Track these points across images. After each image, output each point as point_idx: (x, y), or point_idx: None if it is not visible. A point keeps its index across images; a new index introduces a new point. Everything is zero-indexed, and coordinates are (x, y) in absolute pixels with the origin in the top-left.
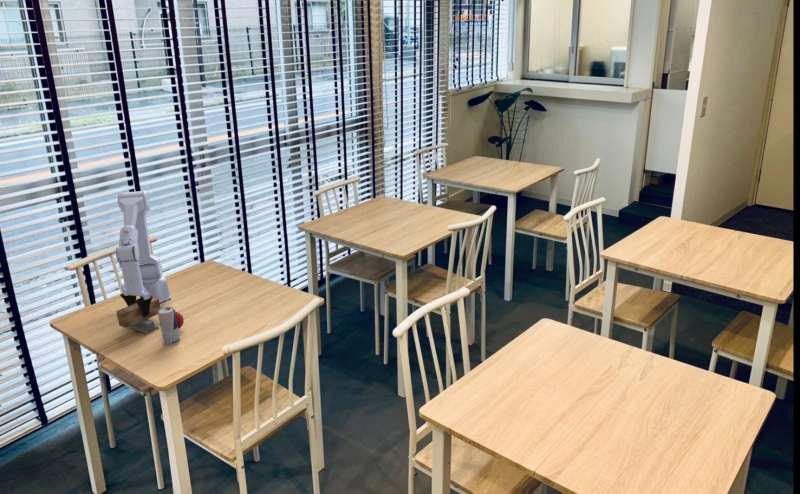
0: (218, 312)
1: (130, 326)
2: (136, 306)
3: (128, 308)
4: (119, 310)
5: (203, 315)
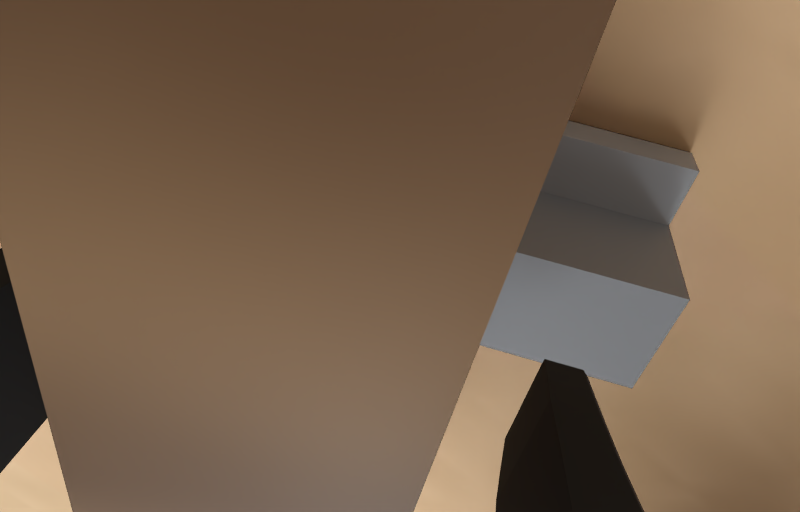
0: (15, 505)
1: (574, 128)
2: (154, 459)
3: (259, 325)
4: (490, 45)
5: (54, 467)
